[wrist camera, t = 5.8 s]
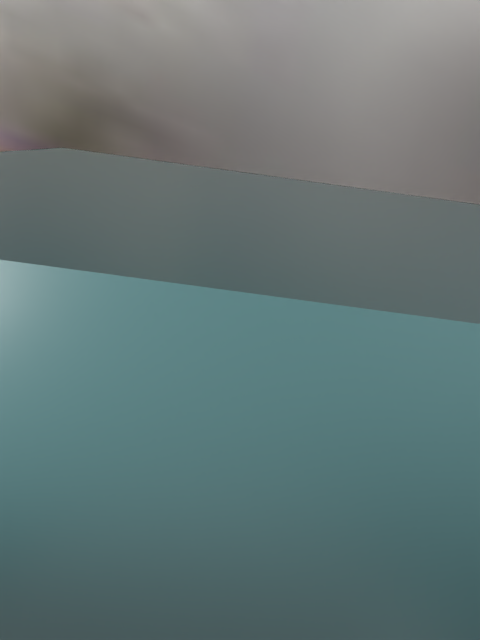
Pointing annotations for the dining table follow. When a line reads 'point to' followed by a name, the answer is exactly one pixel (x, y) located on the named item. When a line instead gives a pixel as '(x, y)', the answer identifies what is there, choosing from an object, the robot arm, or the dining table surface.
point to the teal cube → (234, 406)
